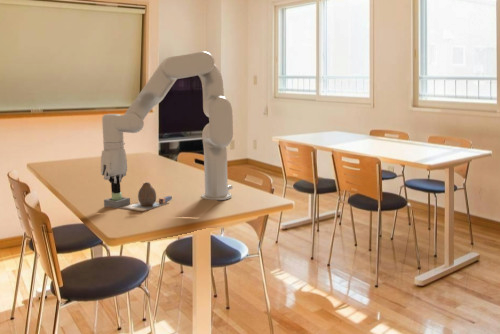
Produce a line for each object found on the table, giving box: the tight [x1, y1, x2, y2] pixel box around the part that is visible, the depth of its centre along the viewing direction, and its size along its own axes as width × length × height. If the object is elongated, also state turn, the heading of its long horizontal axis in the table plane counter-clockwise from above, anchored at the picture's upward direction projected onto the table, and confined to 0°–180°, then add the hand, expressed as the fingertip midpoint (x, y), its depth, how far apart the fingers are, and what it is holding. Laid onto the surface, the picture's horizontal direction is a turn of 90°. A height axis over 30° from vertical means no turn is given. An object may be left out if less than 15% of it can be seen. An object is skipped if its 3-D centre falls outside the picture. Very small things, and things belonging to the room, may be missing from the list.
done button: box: [111, 191, 123, 201], centre depth 196 cm, size 4×4×4 cm
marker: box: [158, 195, 173, 203], centre depth 202 cm, size 10×2×2 cm, turn 169°
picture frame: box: [118, 200, 169, 213], centre depth 195 cm, size 15×12×1 cm
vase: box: [137, 182, 157, 206], centre depth 194 cm, size 7×7×9 cm
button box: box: [103, 196, 131, 209], centre depth 197 cm, size 7×7×3 cm
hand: (116, 192), depth 196 cm, fingers closed
